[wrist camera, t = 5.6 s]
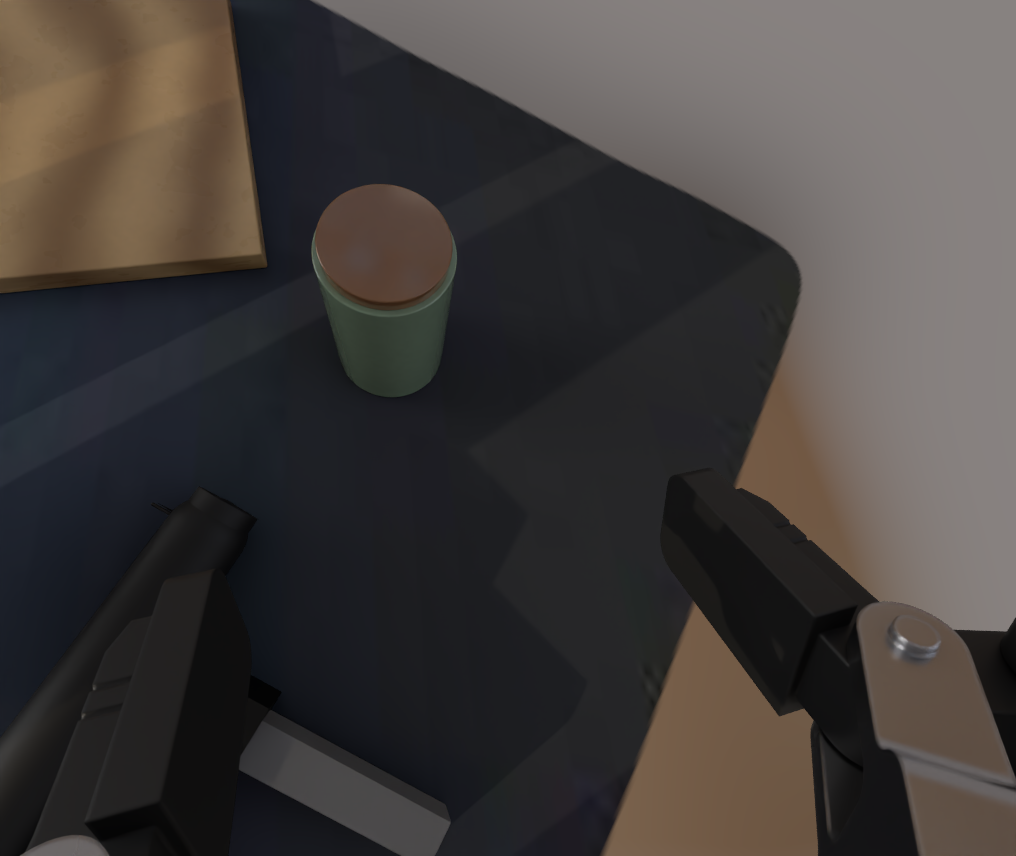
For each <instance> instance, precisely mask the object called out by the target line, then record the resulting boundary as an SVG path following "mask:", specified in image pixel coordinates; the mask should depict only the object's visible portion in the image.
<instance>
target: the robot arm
mask: <svg viewBox="0 0 1016 856" xmlns="http://www.w3.org/2000/svg"><path fill="white" fill-rule="evenodd" d="M660 541H661V548H662V552H663V555H664V558H665V561H666V563H667V565H668V566H669V568H670V569H671V571H672V572H673V573H674V575H675V576H676V577H677V579H678V580H679V582H680V583H681V584H682V586H683V587H684V588H685V590H686V591H687V592H688V594H689V595H690V596H691V598H692V599H693V600H694V602H695V603H696V605H697V606H698V607H699V609H700V610H701V611H702V613H703V614H704V615H705V617H706V618H707V619H708V621H709V622H710V623H711V625H712V626H713V628H714V629H715V630H716V631H717V633H718V634H719V636H720V637H721V638H722V640H723V641H724V642H725V644H726V645H727V646H728V648H729V649H730V651H731V652H732V653H733V654H734V656H735V657H736V659H737V660H738V661H739V663H740V664H741V665H742V667H743V668H744V669H745V671H746V672H747V674H748V675H749V676H750V678H751V679H752V680H753V682H754V683H755V684H756V686H757V687H758V688H759V690H760V691H761V692H762V694H763V695H764V696H765V698H766V699H767V701H768V702H769V703H770V704H771V706H772V707H773V709H774V710H775V711H776V713H777V714H778V715H779V716H782V715H785V714H788V713H791V712H794V711H798V710H800V709H805V710H806V711H807V712H808V714H809V715H810V716H811V717H812V719H813V720H814V721H813V724H812V727H811V749H812V763H813V777H814V778H813V779H814V793H815V808H816V822H817V837H818V856H1016V618H1015V619H1014V621H1013V623H1012V624H1011V626H1010V627H1009V629H1008V631H1007V632H1000V631H972V630H971V631H970V630H952V629H951V628H950V627H949V626H948V625H947V624H945V623H944V622H942V621H941V620H940V619H938V618H936V617H935V616H933V615H931V614H929V613H927V612H925V611H923V610H921V609H918V608H916V607H913V606H910V605H906V604H902V603H896V602H879V601H878V600H877V599H876V598H874V597H873V596H872V595H871V594H870V593H869V592H868V591H867V590H866V589H864V588H863V587H862V586H861V585H860V584H859V583H858V582H857V581H855V580H854V579H853V578H852V577H851V576H850V575H849V574H848V573H847V572H846V571H845V570H843V569H842V568H841V567H840V566H839V565H838V564H837V563H836V562H835V561H833V560H832V559H831V558H830V557H829V556H828V555H827V554H826V553H824V552H823V551H822V550H821V549H820V548H819V547H818V546H817V545H816V544H815V543H813V542H812V541H811V540H809V541H808V540H807V538H806V535H805V534H804V533H802V532H801V531H800V530H799V529H798V528H797V527H796V526H795V525H791V524H790V523H789V520H788V519H787V518H786V517H785V516H784V515H783V514H781V513H780V512H779V511H778V510H777V509H776V508H775V507H774V506H773V505H772V504H770V503H769V502H768V501H766V500H764V499H762V498H760V497H758V496H756V495H754V494H752V493H750V492H748V491H746V490H744V489H742V488H740V489H735V488H734V487H733V486H732V485H731V484H730V483H729V482H728V481H727V480H726V479H725V478H724V477H723V476H722V475H720V474H719V473H718V472H717V471H716V470H714V469H712V468H706V469H701V470H696V471H691V472H686V473H682V474H677V475H673V476H672V477H671V478H670V479H669V482H668V486H667V493H666V500H665V507H664V514H663V521H662V528H661V536H660ZM251 664H252V659H251V646H250V640H249V636H248V632H247V629H246V627H245V624H244V622H243V619H242V617H241V614H240V612H239V609H238V607H237V604H236V602H235V599H234V597H233V594H232V592H231V589H230V587H229V584H228V582H227V579H226V577H225V575H224V573H223V571H222V570H221V569H219V568H215V569H211V570H206V571H201V572H196V573H191V574H186V575H182V576H177V577H172V578H168V579H166V580H165V581H164V583H163V585H162V587H161V590H160V593H159V596H158V599H157V602H156V605H155V608H154V611H153V614H152V616H149V617H144V618H140V619H135V620H131V621H130V623H129V624H128V625H127V626H126V627H125V629H124V630H123V631H122V632H121V633H120V635H119V636H118V637H117V638H116V639H115V641H114V642H113V643H112V644H111V645H110V647H109V648H108V649H107V650H106V651H105V653H104V656H103V659H102V661H101V664H100V666H99V669H98V671H97V674H96V676H95V679H94V681H93V684H92V686H93V690H92V691H91V692H89V694H88V697H87V699H86V702H85V704H84V707H83V709H82V712H81V715H82V718H81V720H80V721H78V722H77V725H76V727H75V730H74V732H73V735H72V738H71V740H70V743H69V745H68V748H67V750H66V753H65V755H64V758H63V760H62V763H61V766H60V768H59V771H58V773H57V776H56V778H55V781H54V783H53V786H52V788H51V791H50V794H49V796H48V799H47V801H46V804H45V806H44V809H43V811H42V814H41V817H40V819H39V822H38V824H37V827H36V829H35V832H34V834H33V837H32V839H31V841H30V843H29V845H28V847H27V849H26V851H25V853H24V854H22V855H20V856H228V852H229V844H230V836H231V828H232V820H233V812H234V804H235V796H236V788H237V780H238V772H239V764H240V756H241V748H242V740H243V732H244V724H245V716H246V708H247V700H248V691H249V683H250V675H251Z"/></svg>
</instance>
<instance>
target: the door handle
mask: <svg viewBox="0 0 1016 856" xmlns="http://www.w3.org/2000/svg"><path fill="white" fill-rule="evenodd" d="M151 505H152V506H154V507H155V508H157V509H159V510H161V511H162V512H164V513H166V514H168V515H169V516H168V517H167V518H166V520H165V521H164V522H163V524H162V525H161V526H160V527H159V529H158V530H157V531H156V533H155V534H154V535H153V537H152V538H151V539H150V541H149V542H148V543H147V545H146V546H145V547H144V549H143V550H142V551H141V553H140V554H139V555H138V557H137V558H136V559H135V561H134V562H133V563H132V564H131V566H130V567H129V568H128V570H127V571H126V572H125V574H124V575H123V576H122V578H121V579H120V580H119V582H118V583H117V584H116V586H115V587H114V588H113V590H112V591H111V592H110V594H109V595H108V596H107V597H106V599H105V600H104V601H103V603H102V604H101V605H100V607H99V608H98V609H97V611H96V612H95V613H94V615H93V616H92V617H91V619H90V620H89V621H88V623H87V624H86V625H85V627H84V628H83V629H82V631H81V632H80V633H79V634H78V636H77V637H76V638H75V640H74V641H73V642H72V644H71V645H70V646H69V648H68V649H67V650H66V652H65V653H64V654H63V656H62V657H61V658H60V660H59V661H58V662H57V664H56V665H55V666H54V667H53V669H52V670H51V671H50V673H49V674H48V675H47V677H46V678H45V679H44V681H43V682H42V683H41V685H40V686H39V687H38V689H37V690H36V691H35V693H34V694H33V695H32V697H31V698H30V699H29V701H28V702H27V703H26V704H25V706H24V707H23V708H22V710H21V711H20V712H19V714H18V715H17V716H16V718H15V719H14V720H13V722H12V723H11V724H10V726H9V727H8V728H7V730H6V731H5V732H4V734H3V735H2V736H1V737H0V856H20V855H22V854H24V853H25V851H26V849H27V847H28V845H29V843H30V841H31V839H32V837H33V834H34V832H35V829H36V827H37V824H38V822H39V819H40V817H41V814H42V811H43V809H44V806H45V804H46V801H47V799H48V796H49V794H50V791H51V788H52V786H53V783H54V781H55V778H56V776H57V773H58V771H59V768H60V766H61V763H62V760H63V758H64V755H65V753H66V750H67V748H68V745H69V743H70V740H71V738H72V735H73V732H74V730H75V727H76V725H77V722H78V721H80V720H81V718H82V715H81V712H82V709H83V707H84V704H85V702H86V699H87V697H88V694H89V692H91V691H92V690H93V686H92V684H93V681H94V679H95V676H96V674H97V671H98V669H99V666H100V664H101V661H102V659H103V656H104V653H105V651H106V650H107V649H108V648H109V647H110V645H111V644H112V643H113V642H114V641H115V639H116V638H117V637H118V636H119V635H120V633H121V632H122V631H123V630H124V629H125V627H126V626H127V625H128V624H129V623H130V621H131V620H135V619H140V618H144V617H149V616H152V614H153V611H154V608H155V605H156V602H157V599H158V596H159V593H160V590H161V587H162V585H163V583H164V581H165V580H166V579H168V578H172V577H177V576H182V575H186V574H191V573H196V572H201V571H206V570H211V569H215V568H219V569H221V570H222V571H223V573H224V575H225V576H226V574H227V573H228V571H229V570H230V569H231V567H232V566H233V564H234V563H235V561H236V560H237V558H238V557H239V556H240V554H241V553H242V551H243V549H244V547H245V545H246V542H247V537H248V532H249V531H250V529H251V528H252V527H253V525H254V524H255V522H256V521H257V518H255V517H254V516H252V515H250V514H249V513H247V512H245V511H243V510H242V509H240V508H238V507H237V506H236V505H234V504H233V503H231V502H230V501H228V500H226V499H223V498H220V497H219V496H217V495H215V494H213V493H211V492H209V491H207V490H205V489H204V488H201V487H198V488H197V489H196V491H195V492H194V493H193V495H192V496H191V497H190V499H189V500H188V501H185V502H184V503H182V504H180V505H179V506H178V507H176V508H175V509H174V510H171V509H169V508H167V507H165V506H163V505H162V506H163V507H165V508H167V509H168V510H170V511H171V512H169V511H168V510H166V509H164V508H162V507H161V506H159V505H157V504H155V503H151ZM160 505H161V504H160ZM280 694H281V691H279V690H277V689H275V688H273V687H272V686H270V685H268V684H266V683H264V682H262V681H261V680H259V679H257V678H255V677H253V676H251V675H250V683H249V691H248V700H247V708H246V716H245V724H244V732H243V740H242V748H241V756H240V764H239V770H240V771H242V772H244V773H246V774H248V775H250V776H252V777H254V778H255V779H257V780H259V781H261V782H263V783H265V784H267V785H269V786H271V787H272V788H274V789H276V790H278V791H280V792H282V793H284V794H286V795H288V796H289V797H291V798H293V799H295V800H297V801H299V802H301V803H303V804H305V805H306V806H308V807H310V808H312V809H314V810H316V811H318V812H320V813H322V814H323V815H325V816H327V817H329V818H331V819H333V820H335V821H337V822H339V823H340V824H342V825H344V826H346V827H348V828H350V829H352V830H354V831H356V832H357V833H359V834H361V835H363V836H365V837H367V838H369V839H371V840H373V841H374V842H376V843H378V844H380V845H382V846H384V847H386V848H388V849H390V850H391V851H393V852H395V853H397V854H399V855H401V856H435V854H436V852H437V850H438V848H439V846H440V844H441V842H442V840H443V838H444V836H445V834H446V832H447V830H448V828H449V825H450V823H451V821H450V818H449V814H448V811H447V807H446V804H444V803H442V802H440V801H438V800H436V799H434V798H433V797H431V796H429V795H427V794H425V793H423V792H422V791H420V790H418V789H416V788H414V787H412V786H410V785H409V784H407V783H405V782H403V781H401V780H399V779H397V778H396V777H394V776H392V775H390V774H388V773H386V772H385V771H383V770H381V769H379V768H377V767H375V766H373V765H372V764H370V763H368V762H366V761H364V760H362V759H361V758H359V757H357V756H355V755H353V754H351V753H349V752H348V751H346V750H344V749H342V748H340V747H338V746H337V745H335V744H333V743H331V742H329V741H327V740H325V739H324V738H322V737H320V736H318V735H316V734H314V733H312V732H311V731H309V730H307V729H305V728H303V727H301V726H300V725H298V724H296V723H294V722H292V721H290V720H288V719H287V718H285V717H283V716H281V715H279V714H277V713H276V712H274V711H272V710H271V708H272V707H273V705H274V704H275V702H276V700H277V699H278V697H279V695H280Z"/></svg>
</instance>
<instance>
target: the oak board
mask: <svg viewBox="0 0 1016 856" xmlns="http://www.w3.org/2000/svg"><path fill="white" fill-rule="evenodd" d="M264 267H267V259H266V252H265V245H264V237H263V230H262V223H261V216H260V208H259V201H258V194H257V187H256V180H255V172H254V165H253V158H252V151H251V143H250V136H249V129H248V122H247V114H246V107H245V100H244V93H243V86H242V78H241V71H240V64H239V57H238V49H237V42H236V35H235V28H234V20H233V13H232V6H231V2H230V0H0V293H10V292H20V291H31V290H41V289H51V288H61V287H71V286H81V285H92V284H102V283H112V282H122V281H132V280H142V279H153V278H163V277H173V276H183V275H193V274H203V273H214V272H224V271H234V270H244V269H254V268H264Z"/></svg>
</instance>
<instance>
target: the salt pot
mask: <svg viewBox="0 0 1016 856" xmlns="http://www.w3.org/2000/svg"><path fill="white" fill-rule="evenodd" d="M311 253H312V262H313V266H314V270H315V273H316V277H317V280H318V284H319V287H320V291H321V294H322V298H323V301H324V305H325V308H326V312H327V315H328V319H329V322H330V326H331V329H332V333H333V336H334V340H335V343H336V347H337V350H338V354H339V357H340V361H341V364H342V366H343V369H344V370H345V372H346V374H347V375H348V376H349V378H350V379H351V380H352V381H353V382H354V383H355V384H356V385H357V386H359V387H360V388H362V389H363V390H365V391H367V392H369V393H372V394H374V395H378V396H383V397H400V396H405V395H409V394H411V393H414V392H416V391H418V390H420V389H421V388H423V387H424V386H425V385H426V384H427V383H429V382H430V380H431V379H432V378H433V377H434V375H435V374H436V372H437V370H438V368H439V365H440V362H441V357H442V351H443V345H444V339H445V332H446V326H447V320H448V314H449V308H450V302H451V296H452V290H453V284H454V278H455V272H456V265H457V251H456V245H455V242H454V238H453V236H452V234H451V232H450V229H449V227H448V225H447V222H446V221H445V219H444V217H443V216H442V214H441V213H440V212H439V211H438V209H437V208H436V207H435V206H434V205H433V204H432V203H431V202H429V201H428V200H427V199H425V198H424V197H423V196H421V195H419V194H417V193H416V192H413V191H411V190H409V189H406V188H403V187H399V186H394V185H387V184H372V185H365V186H361V187H357V188H354V189H352V190H349V191H347V192H345V193H343V194H342V195H340V196H339V197H337V198H336V199H335V200H334V201H333V202H332V203H330V204H329V206H328V207H327V208H326V209H325V211H324V212H323V214H322V216H321V217H320V220H319V222H318V225H317V228H316V231H315V233H314V236H313V241H312V249H311Z"/></svg>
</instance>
